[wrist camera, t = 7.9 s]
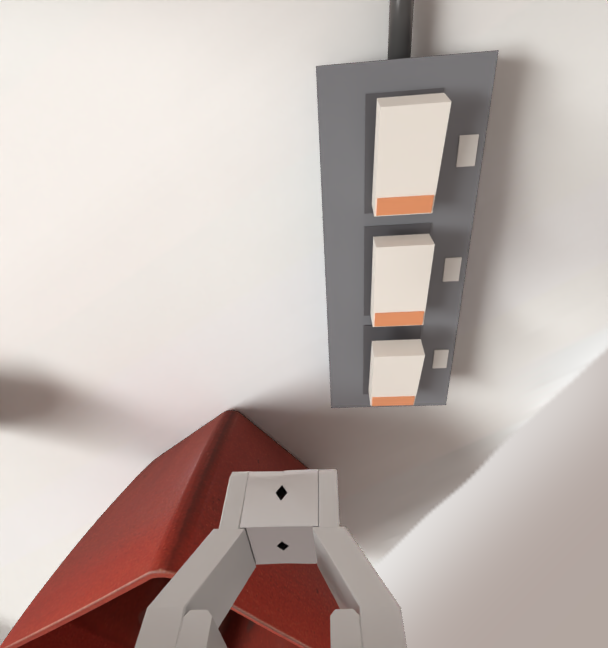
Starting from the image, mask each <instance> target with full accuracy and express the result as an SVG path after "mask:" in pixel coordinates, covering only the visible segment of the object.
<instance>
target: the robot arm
mask: <svg viewBox="0 0 608 648" xmlns="http://www.w3.org/2000/svg"><path fill="white" fill-rule="evenodd" d="M282 563H298V564H317V566H318V568H319V570H320V572H321V573H322V575H323V577H324V579H325V581H326V583H327V585H328V587H329V589H330V591H331V593H332V594H333V596H334V598H335V600H336V602H337V604H338V606H339V608H340V609H335V610H334V611H333V613H332V614H331V615H330V639H331V648H407V644H406V638H405V632H404V625H403V619H402V612H401V607H400V606H399V604H398V603H397V601H396V600H395V598H394V597H393V595H392V594H391V592H390V591H389V590H388V588H387V587H386V585H385V584H384V583H383V581H382V579H381V578H380V577H379V575H378V573H377V572H376V571H375V569H374V568H373V566H372V565H371V563H370V562H369V560H368V559H367V557H366V556H365V555H364V553H363V552H362V550H361V549H360V547H359V546H358V544H357V543H356V541H355V540H354V538H353V537H352V536H351V534H350V533H349V531H348V530H347V528H346V527H340V517H339V498H338V479H337V469H324V470H318V469H308V470H286V471H256V472H250V471H246V472H232V474H231V476H230V478H229V483H228V487H227V492H226V497H225V501H224V506H223V511H222V516H221V520H220V525H219V529H213V530H212V531H211V533H210V534H209V535H208V536H207V537H206V539H205V540H204V541H203V542H202V543H201V545H200V546H199V547H198V548H197V549H196V550H195V552H194V553H193V554H192V555H191V556H190V558H189V559H188V560H187V561H186V562H185V564H184V565H183V566H182V567H181V568H180V569H179V571H178V572H177V573H176V574H175V575H174V577H173V578H172V579H171V580H170V581H169V583H168V584H167V585H166V586H165V587H164V588H163V590H162V591H161V592H160V593H159V594H158V596H157V597H156V598H155V599H154V600H153V602H152V603H151V604H150V605H149V606H148V607H147V610H146V613H145V616H144V619H143V622H142V626H141V629H140V632H139V635H138V638H137V641H136V645H135V648H227V646H226V644H225V642H224V640H223V638H222V636H221V634H220V631H219V629H218V628H219V626H220V625H221V623H222V621H223V620H224V618H225V616H226V615H227V613H228V612H229V610H230V608H231V607H232V605H233V603H234V602H235V600H236V599H237V597H238V595H239V594H240V592H241V590H242V589H243V587H244V585H245V584H246V582H247V581H248V579H249V577H250V576H251V574H252V572H253V571H254V569H255V568H256V565H258V564H282Z"/></svg>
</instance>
